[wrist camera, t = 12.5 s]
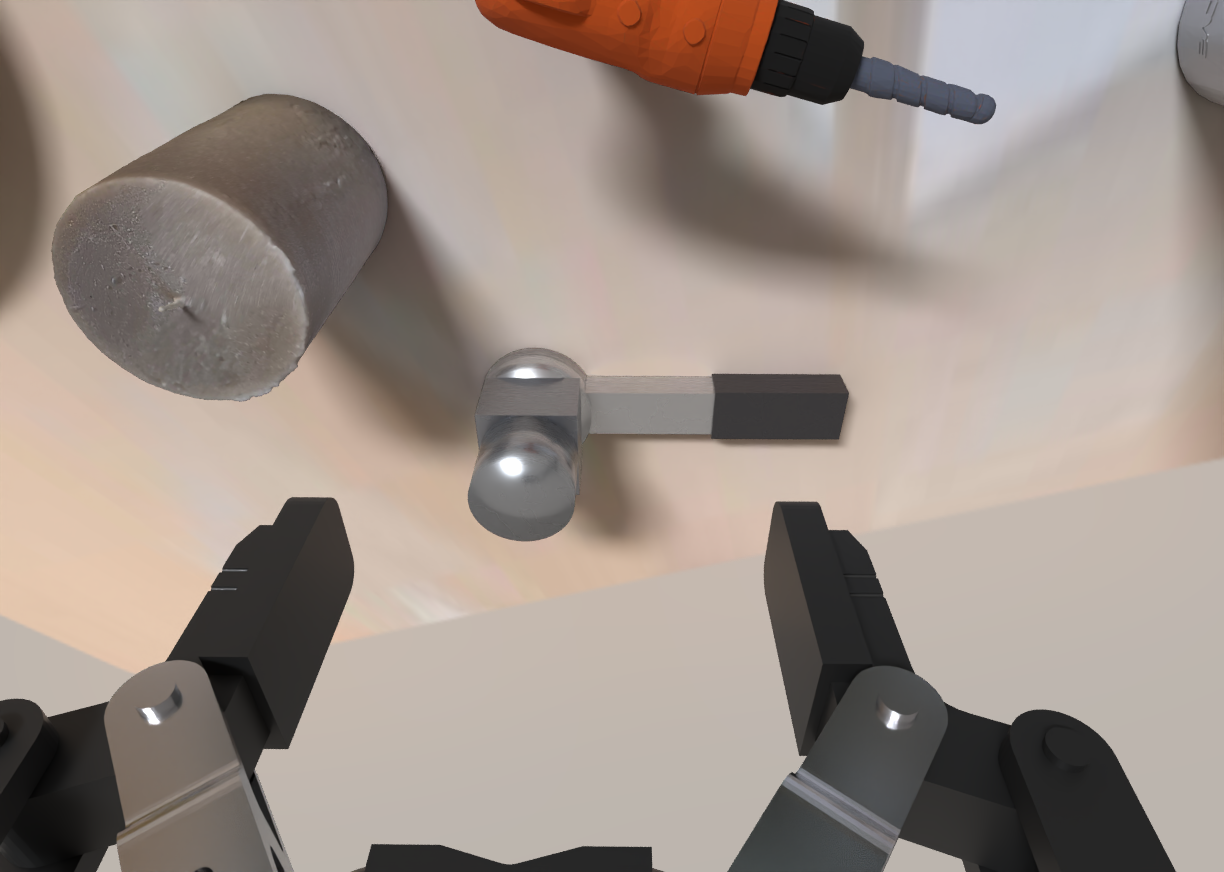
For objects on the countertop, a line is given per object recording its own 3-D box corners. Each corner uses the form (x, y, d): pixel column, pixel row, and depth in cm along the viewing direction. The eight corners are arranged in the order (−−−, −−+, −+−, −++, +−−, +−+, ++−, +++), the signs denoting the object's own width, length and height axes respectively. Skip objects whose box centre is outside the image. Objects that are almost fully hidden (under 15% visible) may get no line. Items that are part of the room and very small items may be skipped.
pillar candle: (167, 150, 39) (-36, 265, 27) (311, 54, 36) (157, 134, 24) (294, 300, 44) (171, 454, 32) (429, 226, 41) (350, 364, 29)
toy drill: (895, 117, 36) (979, 208, 24) (524, 7, 36) (414, 42, 24) (944, 6, 34) (1067, 44, 21) (542, -115, 33) (430, -148, 21)
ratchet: (845, 349, 45) (872, 402, 41) (826, 442, 49) (848, 500, 45) (477, 347, 46) (460, 400, 41) (488, 440, 50) (474, 498, 45)
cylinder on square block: (580, 378, 44) (573, 460, 37) (582, 454, 47) (576, 541, 41) (485, 377, 44) (461, 459, 37) (494, 453, 47) (474, 540, 41)
